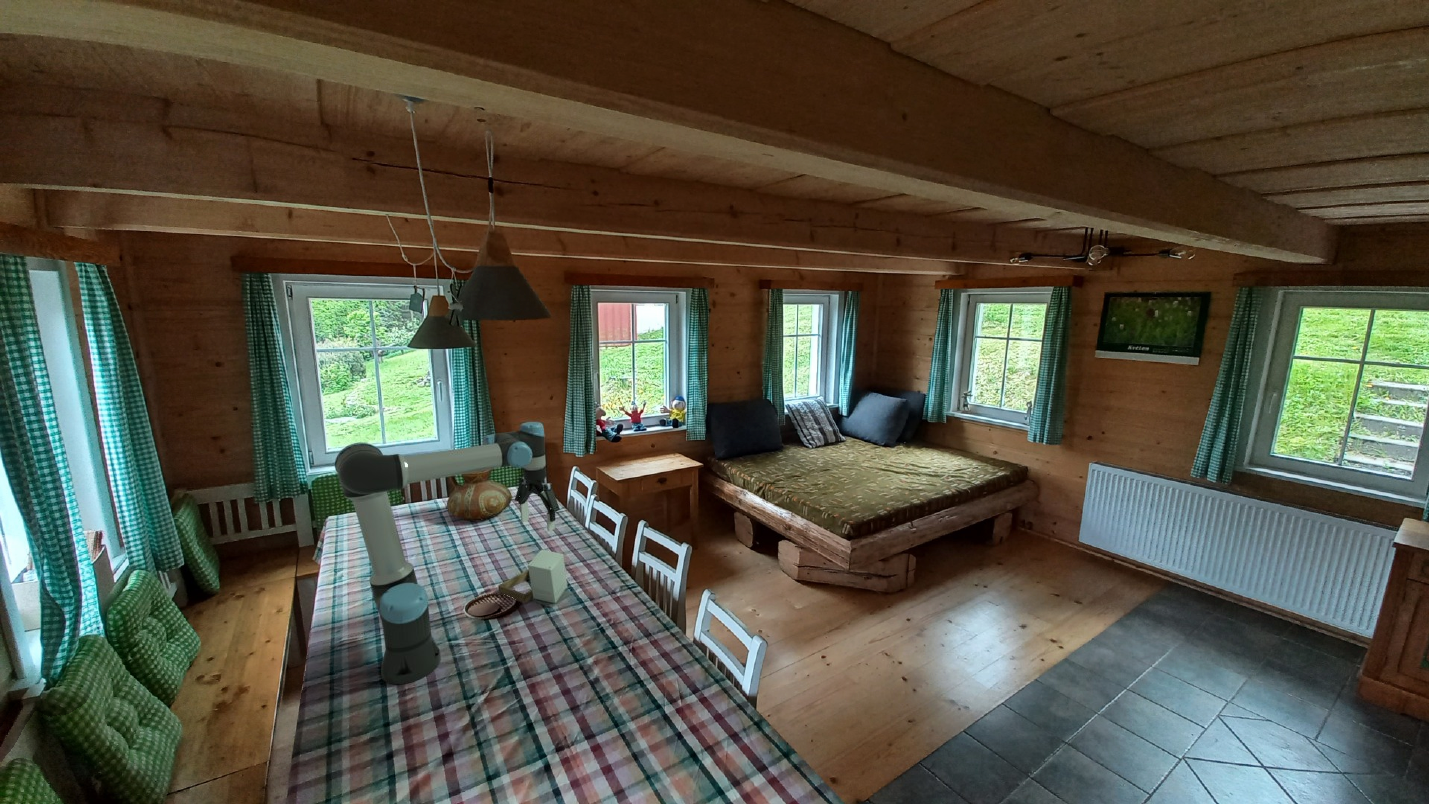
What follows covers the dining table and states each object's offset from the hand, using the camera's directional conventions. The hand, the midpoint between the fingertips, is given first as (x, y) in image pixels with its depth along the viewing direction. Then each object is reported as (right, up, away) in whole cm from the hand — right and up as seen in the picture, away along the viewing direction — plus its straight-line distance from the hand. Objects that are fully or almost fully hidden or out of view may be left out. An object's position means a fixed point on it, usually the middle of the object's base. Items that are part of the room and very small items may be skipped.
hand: (538, 525), depth 189 cm
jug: (-54, -13, +81) cm, 98 cm away
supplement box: (+3, -25, +4) cm, 26 cm away
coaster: (+4, -27, +4) cm, 27 cm away
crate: (-7, -26, +10) cm, 28 cm away
